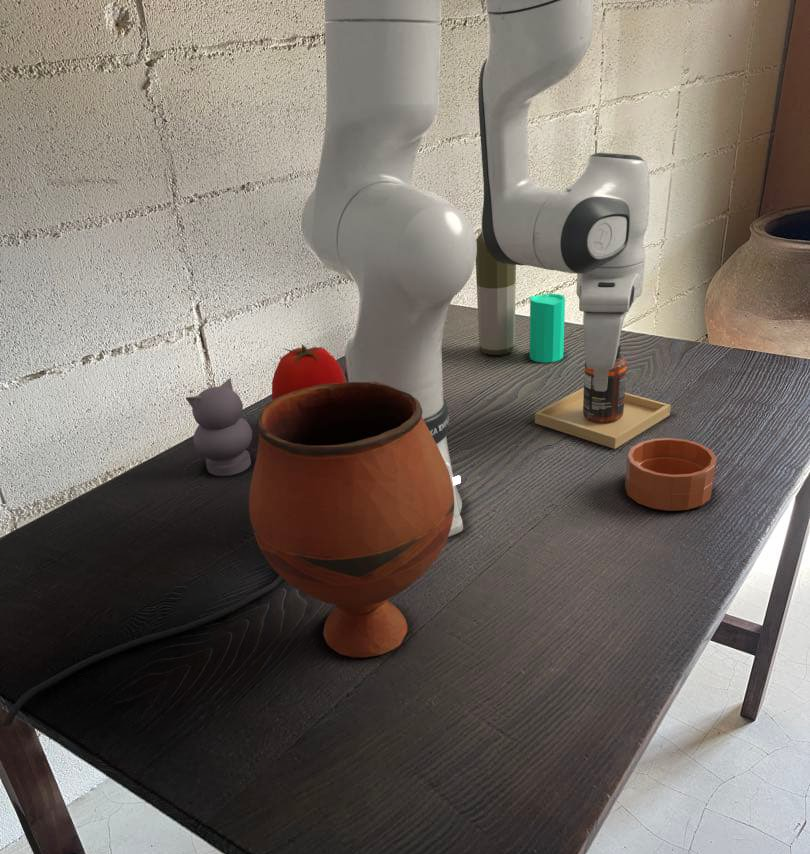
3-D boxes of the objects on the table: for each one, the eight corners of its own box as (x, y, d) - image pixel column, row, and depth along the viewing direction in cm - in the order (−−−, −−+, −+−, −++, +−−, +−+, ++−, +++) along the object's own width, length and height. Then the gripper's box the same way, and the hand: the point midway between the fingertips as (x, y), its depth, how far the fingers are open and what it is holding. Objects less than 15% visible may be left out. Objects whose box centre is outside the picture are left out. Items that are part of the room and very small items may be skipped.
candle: (526, 361, 146) (527, 294, 139) (532, 350, 151) (533, 283, 144) (560, 363, 144) (562, 294, 138) (565, 351, 149) (567, 284, 142)
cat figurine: (222, 485, 115) (205, 405, 109) (188, 470, 120) (170, 393, 113) (269, 461, 120) (254, 383, 114) (234, 448, 125) (219, 372, 118)
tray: (614, 449, 115) (615, 438, 115) (534, 423, 124) (534, 412, 124) (669, 415, 123) (671, 404, 122) (590, 393, 132) (591, 383, 131)
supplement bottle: (620, 407, 126) (626, 335, 120) (625, 423, 121) (631, 349, 115) (580, 408, 126) (584, 336, 120) (584, 425, 122) (587, 351, 115)
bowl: (682, 521, 98) (687, 485, 96) (609, 494, 105) (611, 459, 102) (726, 488, 104) (732, 453, 101) (654, 464, 111) (657, 430, 108)
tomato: (367, 419, 130) (359, 338, 123) (319, 451, 122) (307, 366, 115) (311, 407, 136) (299, 328, 129) (260, 437, 128) (245, 355, 120)
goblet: (466, 690, 77) (455, 450, 64) (262, 702, 78) (208, 467, 64) (454, 572, 93) (444, 361, 80) (285, 583, 94) (247, 375, 80)
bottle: (522, 347, 152) (523, 171, 136) (505, 360, 147) (504, 179, 131) (488, 342, 156) (485, 170, 139) (471, 355, 151) (465, 178, 135)
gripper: (593, 261, 122) (588, 351, 129) (578, 302, 106) (573, 403, 113) (637, 261, 120) (630, 352, 128) (628, 303, 104) (621, 405, 111)
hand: (603, 377), depth 120 cm, fingers open, 8 cm apart
